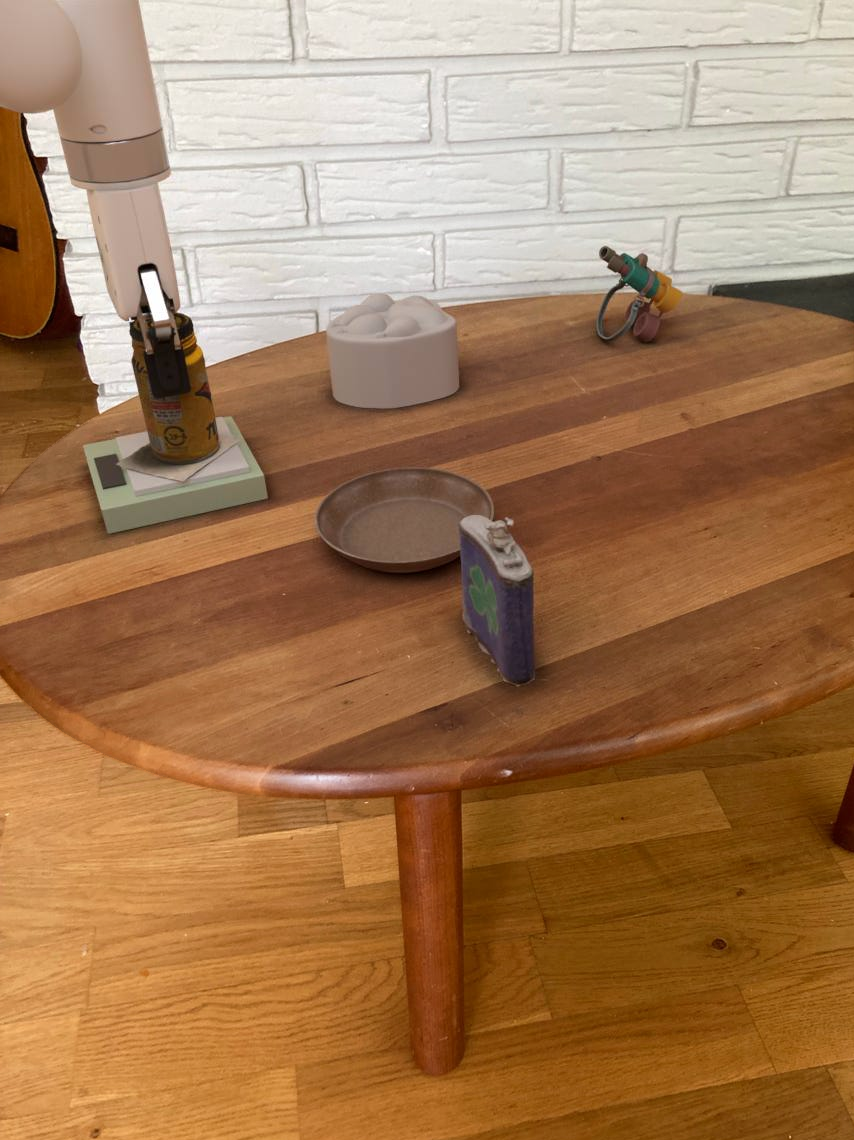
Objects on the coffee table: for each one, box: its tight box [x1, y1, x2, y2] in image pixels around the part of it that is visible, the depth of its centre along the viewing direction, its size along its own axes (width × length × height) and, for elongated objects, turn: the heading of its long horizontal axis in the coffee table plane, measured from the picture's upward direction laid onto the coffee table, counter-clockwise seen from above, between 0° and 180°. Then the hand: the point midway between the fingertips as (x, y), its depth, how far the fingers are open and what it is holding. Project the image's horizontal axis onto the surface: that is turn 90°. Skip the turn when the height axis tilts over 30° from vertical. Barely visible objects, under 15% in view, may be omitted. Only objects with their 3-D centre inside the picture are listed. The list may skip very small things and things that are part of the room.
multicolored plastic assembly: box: [596, 245, 683, 343], centre depth 121 cm, size 9×9×10 cm
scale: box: [82, 415, 269, 535], centre depth 98 cm, size 14×13×3 cm
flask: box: [459, 515, 536, 688], centre depth 75 cm, size 9×3×11 cm, turn 24°
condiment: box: [116, 311, 239, 481], centre depth 93 cm, size 7×8×12 cm
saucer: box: [314, 466, 495, 574], centre depth 90 cm, size 15×15×3 cm
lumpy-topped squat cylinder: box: [325, 292, 460, 409], centre depth 112 cm, size 10×13×9 cm
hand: (164, 376), depth 93 cm, fingers open, 6 cm apart
